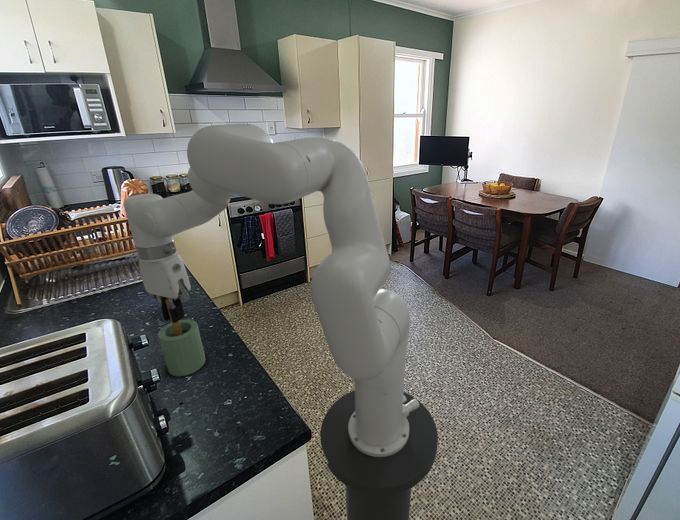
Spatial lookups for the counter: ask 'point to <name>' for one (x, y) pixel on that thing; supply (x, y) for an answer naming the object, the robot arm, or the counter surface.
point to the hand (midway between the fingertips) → (174, 318)
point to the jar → (182, 348)
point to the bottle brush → (176, 325)
